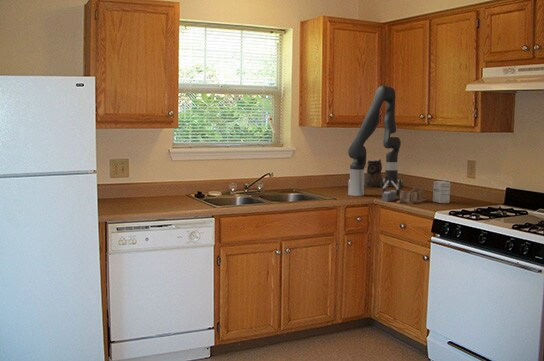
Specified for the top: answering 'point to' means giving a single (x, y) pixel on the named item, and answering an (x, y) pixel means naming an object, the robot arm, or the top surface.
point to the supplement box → (441, 192)
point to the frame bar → (389, 196)
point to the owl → (373, 173)
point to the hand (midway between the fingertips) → (391, 195)
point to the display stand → (411, 196)
